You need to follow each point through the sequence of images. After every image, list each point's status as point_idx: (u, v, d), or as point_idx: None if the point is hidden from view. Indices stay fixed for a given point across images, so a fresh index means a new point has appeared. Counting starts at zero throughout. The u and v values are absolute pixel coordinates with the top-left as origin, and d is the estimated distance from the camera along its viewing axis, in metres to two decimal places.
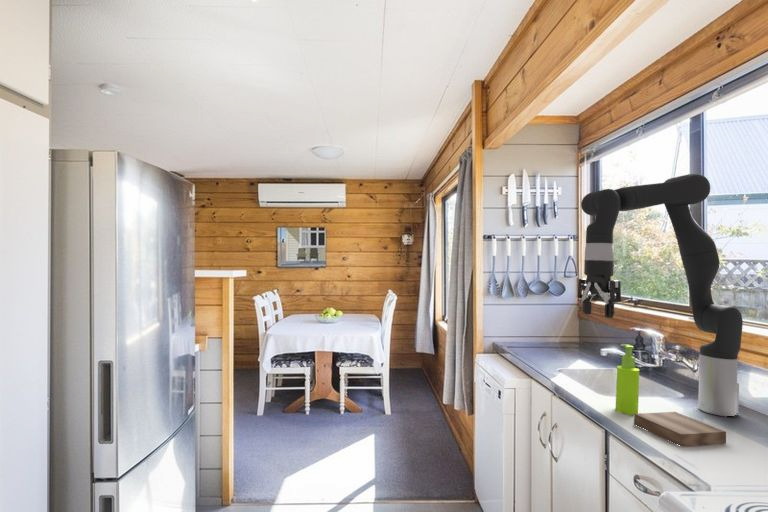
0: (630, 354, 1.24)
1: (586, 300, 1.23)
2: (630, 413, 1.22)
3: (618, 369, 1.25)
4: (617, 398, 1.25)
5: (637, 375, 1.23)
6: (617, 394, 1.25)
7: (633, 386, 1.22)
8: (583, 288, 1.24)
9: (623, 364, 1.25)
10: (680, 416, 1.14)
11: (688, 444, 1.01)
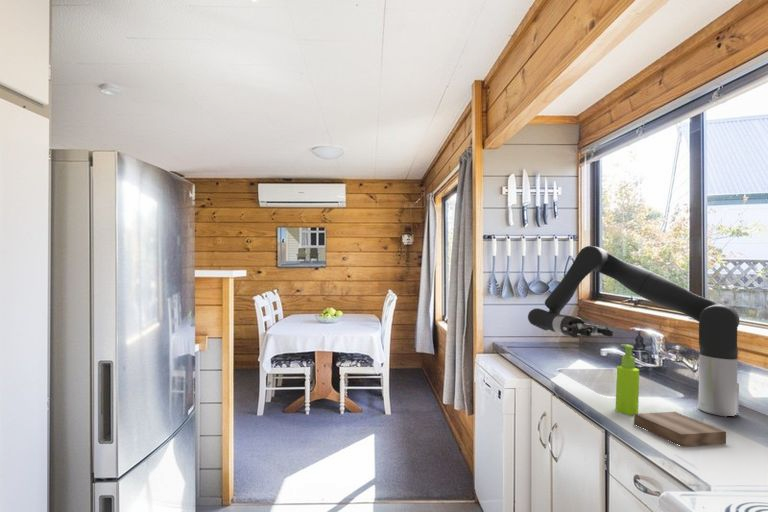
0: (630, 354, 1.24)
1: (602, 332, 1.41)
2: (630, 413, 1.22)
3: (618, 369, 1.25)
4: (617, 398, 1.25)
5: (637, 375, 1.23)
6: (617, 394, 1.25)
7: (633, 386, 1.22)
8: (599, 330, 1.45)
9: (623, 364, 1.25)
10: (680, 416, 1.14)
11: (688, 444, 1.01)
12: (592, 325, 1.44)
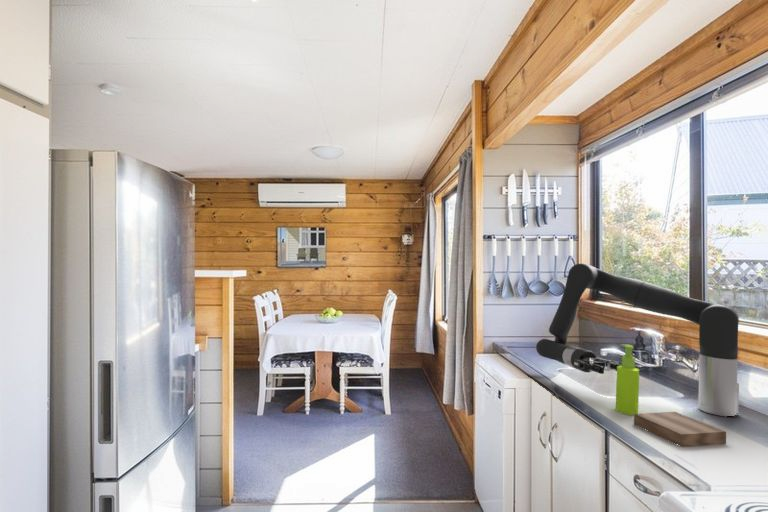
0: (630, 354, 1.24)
1: (615, 368, 1.35)
2: (630, 413, 1.22)
3: (618, 369, 1.25)
4: (617, 398, 1.25)
5: (637, 375, 1.23)
6: (617, 394, 1.25)
7: (633, 386, 1.22)
8: (611, 365, 1.39)
9: (623, 364, 1.25)
10: (680, 416, 1.14)
11: (688, 444, 1.01)
12: (604, 360, 1.38)
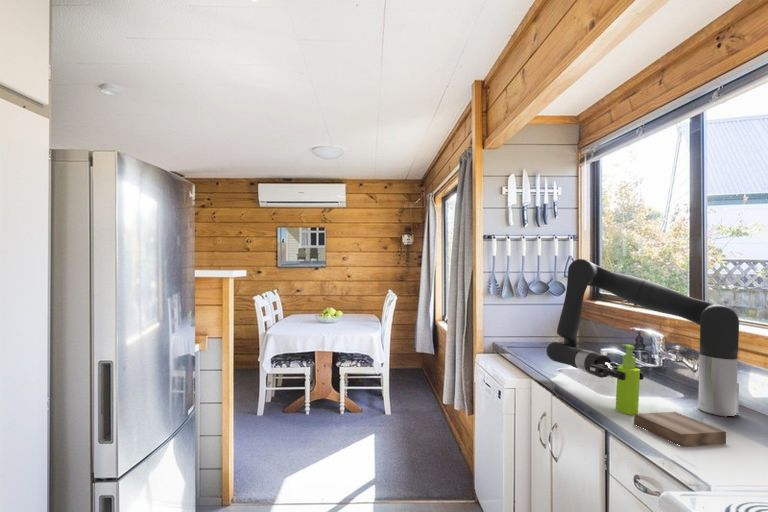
0: (631, 354, 1.24)
1: None
2: (630, 413, 1.22)
3: (619, 369, 1.25)
4: (617, 398, 1.25)
5: (638, 375, 1.22)
6: (617, 394, 1.25)
7: (634, 386, 1.22)
8: None
9: (624, 364, 1.25)
10: (680, 416, 1.14)
11: (688, 444, 1.01)
12: (620, 365, 1.31)
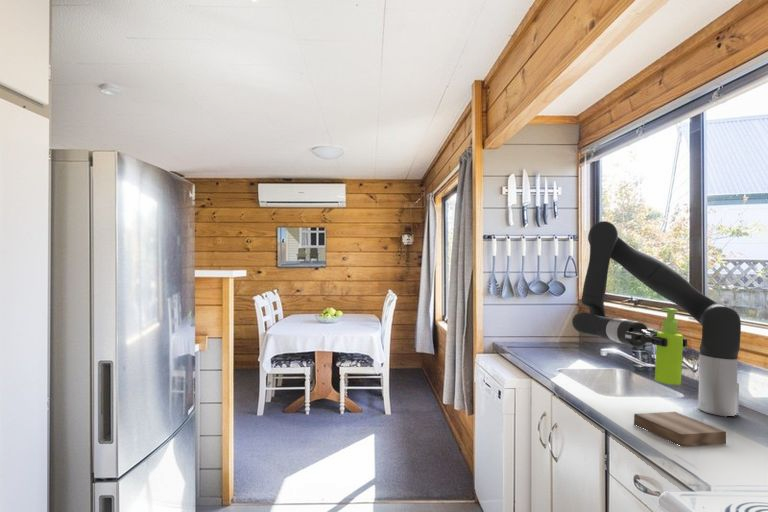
0: (673, 318, 1.12)
1: None
2: (672, 383, 1.09)
3: (659, 335, 1.12)
4: (657, 367, 1.12)
5: (681, 341, 1.10)
6: (657, 362, 1.12)
7: (677, 353, 1.09)
8: None
9: (665, 329, 1.12)
10: (680, 416, 1.14)
11: (688, 444, 1.01)
12: None
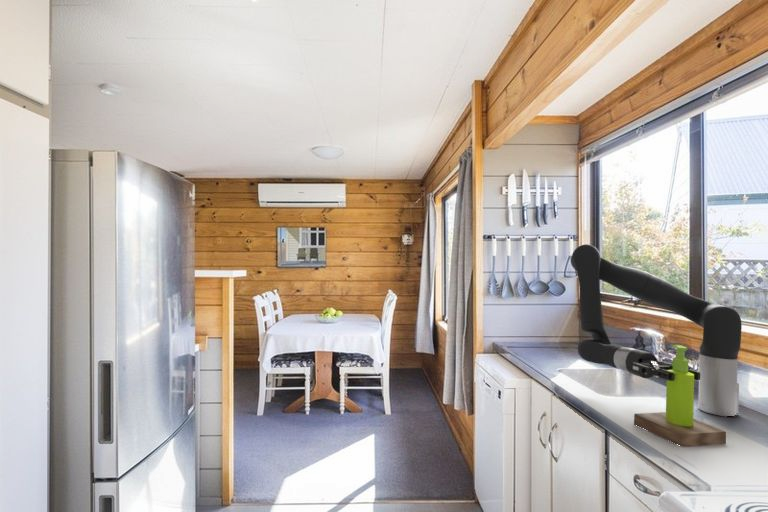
0: (683, 356, 1.08)
1: None
2: (685, 424, 1.06)
3: None
4: (668, 407, 1.09)
5: (692, 380, 1.06)
6: (668, 402, 1.09)
7: (688, 393, 1.06)
8: None
9: (675, 368, 1.09)
10: None
11: (688, 444, 1.01)
12: (670, 364, 1.14)
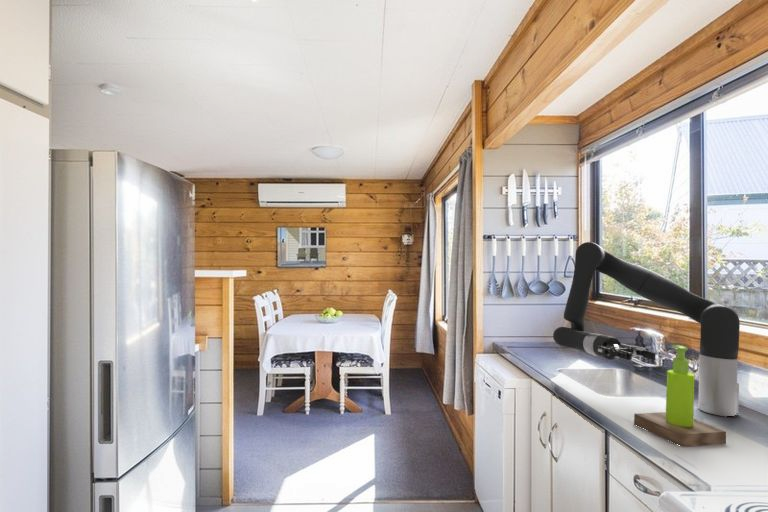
0: (683, 357, 1.08)
1: (642, 354, 1.26)
2: (684, 425, 1.06)
3: (669, 374, 1.09)
4: (668, 407, 1.09)
5: (692, 381, 1.06)
6: (668, 402, 1.09)
7: (688, 394, 1.06)
8: (637, 351, 1.30)
9: (675, 368, 1.09)
10: None
11: (688, 444, 1.01)
12: (630, 346, 1.29)
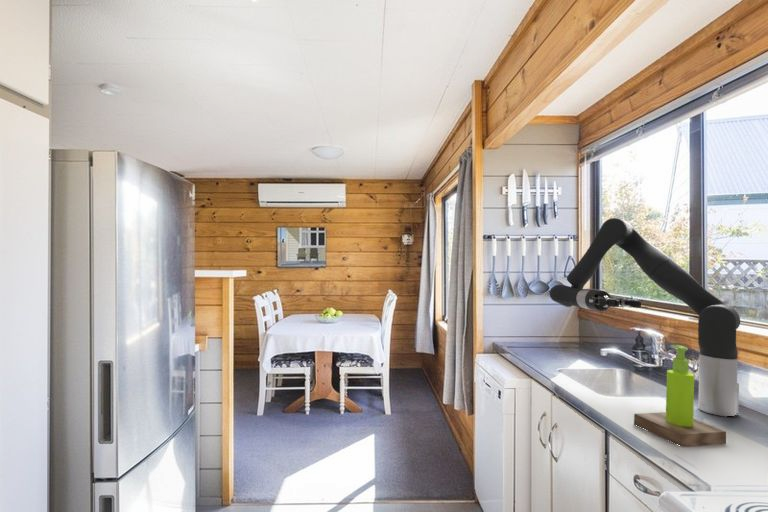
0: (683, 357, 1.08)
1: (629, 304, 1.38)
2: (684, 425, 1.06)
3: (669, 374, 1.09)
4: (668, 407, 1.09)
5: (692, 381, 1.06)
6: (668, 402, 1.09)
7: (688, 394, 1.06)
8: (625, 302, 1.42)
9: (675, 368, 1.09)
10: None
11: (688, 444, 1.01)
12: (619, 297, 1.40)
